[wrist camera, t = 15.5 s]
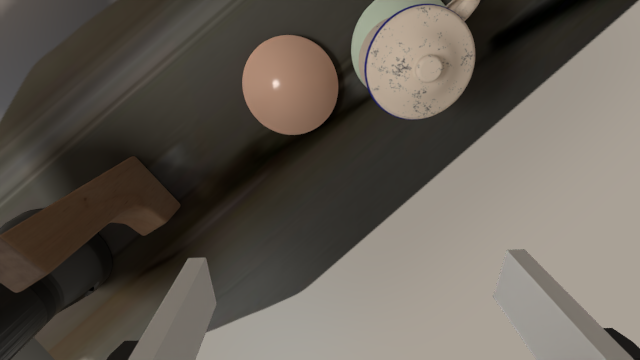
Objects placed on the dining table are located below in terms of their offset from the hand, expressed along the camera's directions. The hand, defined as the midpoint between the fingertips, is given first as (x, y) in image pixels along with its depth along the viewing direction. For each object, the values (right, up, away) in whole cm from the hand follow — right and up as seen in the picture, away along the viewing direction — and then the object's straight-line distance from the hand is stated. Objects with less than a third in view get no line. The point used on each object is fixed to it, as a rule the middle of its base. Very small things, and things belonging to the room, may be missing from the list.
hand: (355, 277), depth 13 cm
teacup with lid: (+8, +19, +19) cm, 28 cm away
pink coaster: (-5, +15, +22) cm, 27 cm away
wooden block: (-25, +3, +28) cm, 38 cm away
